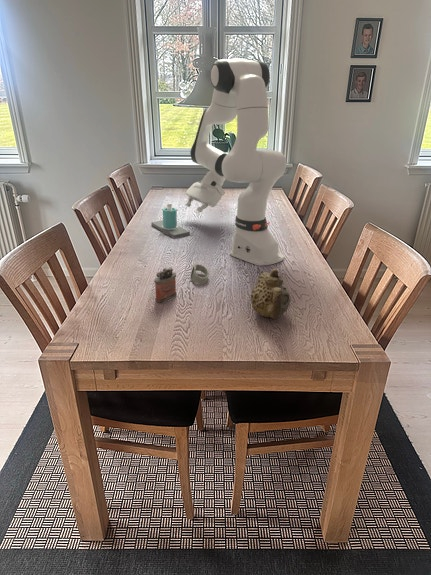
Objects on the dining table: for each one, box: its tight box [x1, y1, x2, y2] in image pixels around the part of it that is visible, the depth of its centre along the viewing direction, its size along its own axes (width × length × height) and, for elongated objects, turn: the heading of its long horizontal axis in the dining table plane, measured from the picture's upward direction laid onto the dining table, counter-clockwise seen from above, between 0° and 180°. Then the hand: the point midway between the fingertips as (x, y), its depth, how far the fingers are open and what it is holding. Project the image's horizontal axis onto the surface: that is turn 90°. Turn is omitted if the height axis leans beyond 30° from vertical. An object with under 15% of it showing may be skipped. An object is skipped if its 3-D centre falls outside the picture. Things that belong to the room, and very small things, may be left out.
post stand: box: [150, 202, 191, 239], centre depth 183 cm, size 20×8×13 cm, turn 37°
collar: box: [162, 207, 178, 229], centre depth 183 cm, size 6×6×8 cm
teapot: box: [250, 268, 292, 320], centre depth 119 cm, size 21×12×15 cm, turn 4°
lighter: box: [154, 267, 177, 304], centre depth 127 cm, size 8×3×10 cm, turn 141°
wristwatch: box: [190, 263, 210, 285], centre depth 142 cm, size 9×6×5 cm
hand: (192, 208), depth 189 cm, fingers open, 8 cm apart
